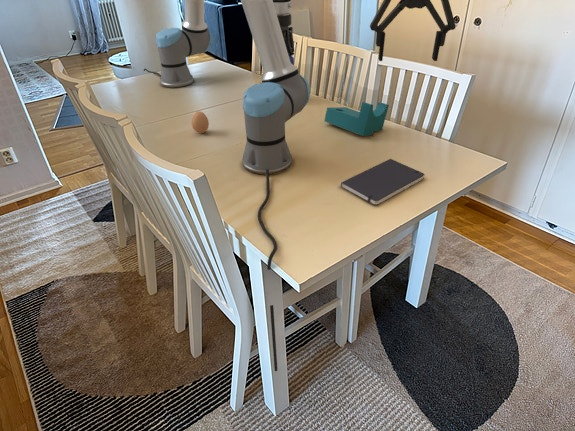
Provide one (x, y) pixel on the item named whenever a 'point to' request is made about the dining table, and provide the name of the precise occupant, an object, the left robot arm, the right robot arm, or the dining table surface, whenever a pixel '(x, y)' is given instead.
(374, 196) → the notebook
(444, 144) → the dining table surface
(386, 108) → the teal l-shaped bracket
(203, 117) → the egg
